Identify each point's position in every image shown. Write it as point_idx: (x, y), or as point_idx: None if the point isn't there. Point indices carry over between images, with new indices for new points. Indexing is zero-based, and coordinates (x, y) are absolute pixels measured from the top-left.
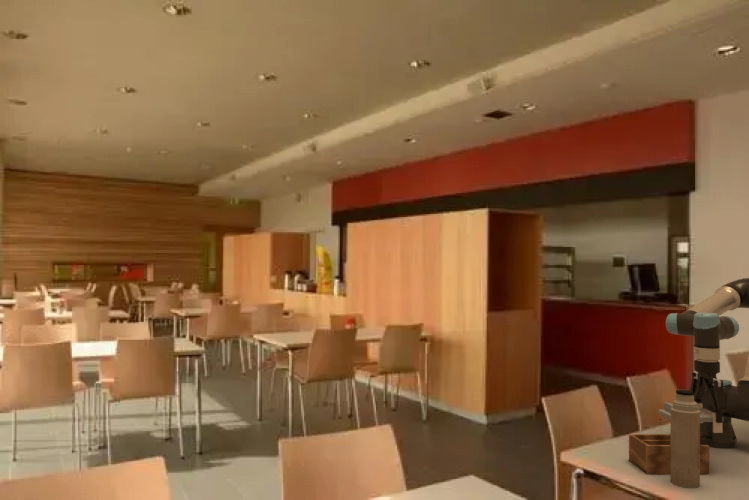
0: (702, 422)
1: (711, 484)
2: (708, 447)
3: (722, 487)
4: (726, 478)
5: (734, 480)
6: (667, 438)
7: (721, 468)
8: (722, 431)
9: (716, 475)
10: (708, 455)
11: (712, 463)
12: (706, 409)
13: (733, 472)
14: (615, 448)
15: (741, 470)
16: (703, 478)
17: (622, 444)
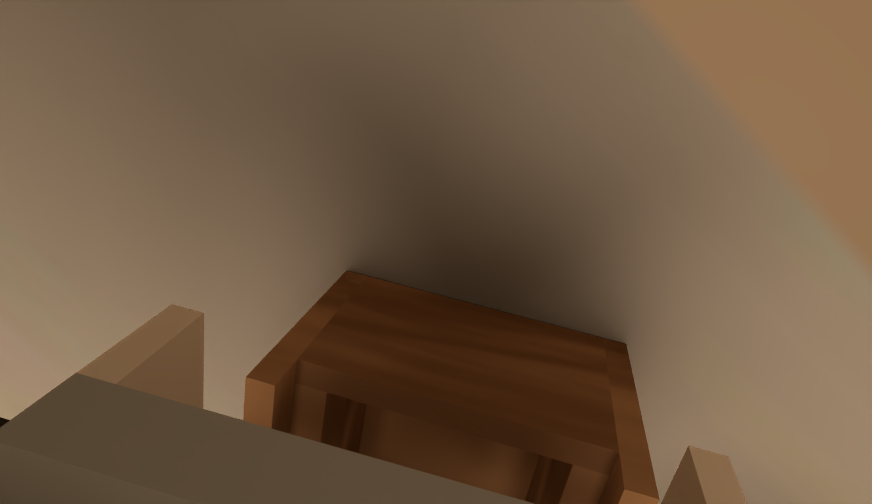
0: (197, 320)
1: (785, 475)
2: (654, 495)
3: (863, 459)
4: (736, 295)
5: (796, 274)
6: None
7: (540, 150)
8: (732, 469)
9: (657, 311)
10: (641, 438)
11: (422, 125)
12: (64, 466)
13: (648, 130)
14: None
15: (631, 13)
16: (674, 434)
17: (30, 397)
